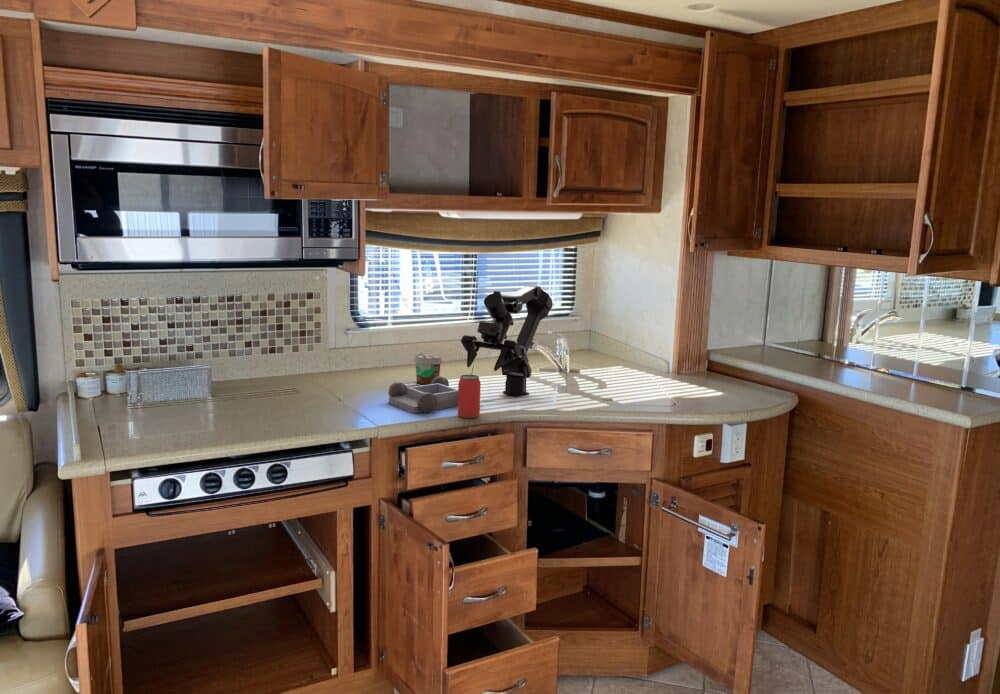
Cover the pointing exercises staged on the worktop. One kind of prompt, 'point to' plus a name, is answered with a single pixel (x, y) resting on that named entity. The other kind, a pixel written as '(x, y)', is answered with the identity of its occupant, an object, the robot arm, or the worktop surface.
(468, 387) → the beer can
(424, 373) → the food container
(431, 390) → the chassis
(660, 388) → the worktop surface
